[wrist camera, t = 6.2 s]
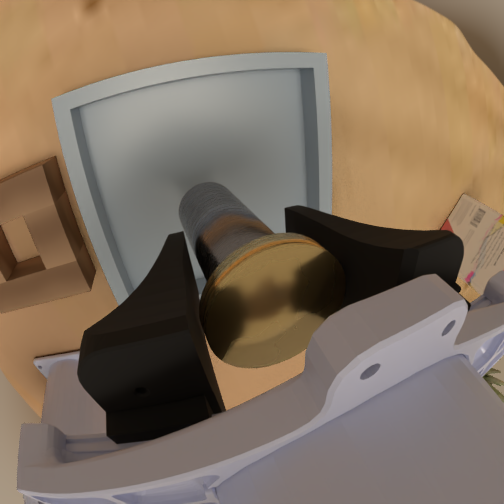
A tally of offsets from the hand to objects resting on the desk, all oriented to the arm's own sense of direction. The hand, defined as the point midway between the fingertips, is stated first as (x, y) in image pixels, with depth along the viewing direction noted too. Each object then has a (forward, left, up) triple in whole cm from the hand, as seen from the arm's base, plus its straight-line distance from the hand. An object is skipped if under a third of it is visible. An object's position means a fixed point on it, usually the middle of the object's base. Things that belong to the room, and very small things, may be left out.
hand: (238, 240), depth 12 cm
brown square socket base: (0, +14, -8) cm, 16 cm away
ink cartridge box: (-10, -28, -9) cm, 31 cm away
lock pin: (0, +1, -4) cm, 4 cm away
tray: (0, 0, -8) cm, 8 cm away
